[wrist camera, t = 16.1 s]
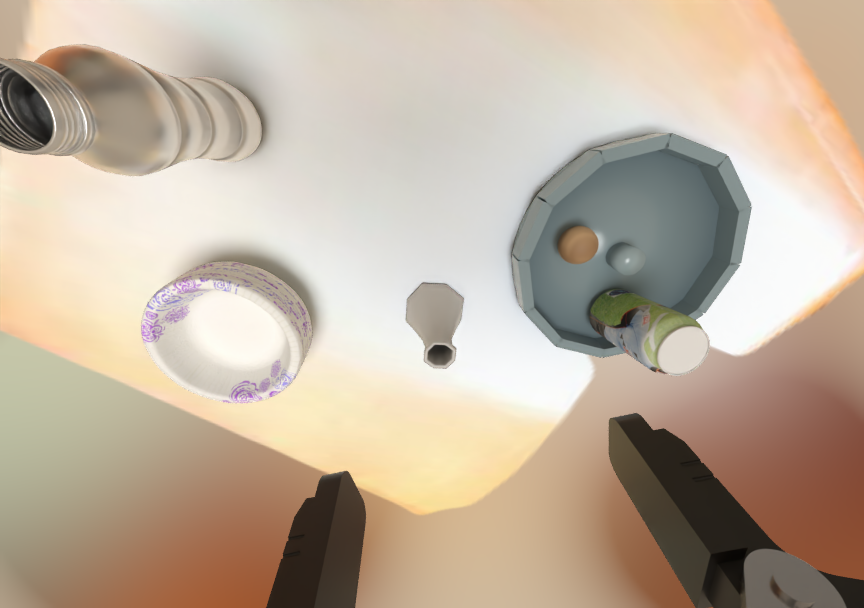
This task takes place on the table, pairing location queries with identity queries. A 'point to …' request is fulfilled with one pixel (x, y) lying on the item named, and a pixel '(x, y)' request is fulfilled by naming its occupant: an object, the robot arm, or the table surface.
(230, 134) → the plastic bottle
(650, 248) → the tray
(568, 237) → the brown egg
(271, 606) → the robot arm
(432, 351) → the flask
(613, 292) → the beverage can
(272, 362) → the paper bowls
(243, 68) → the table surface
